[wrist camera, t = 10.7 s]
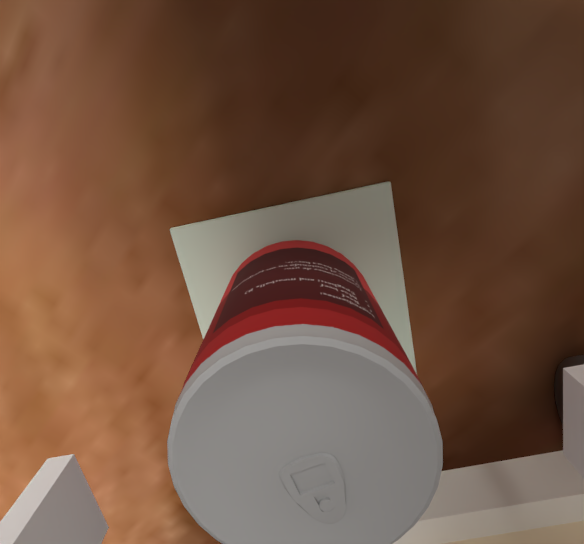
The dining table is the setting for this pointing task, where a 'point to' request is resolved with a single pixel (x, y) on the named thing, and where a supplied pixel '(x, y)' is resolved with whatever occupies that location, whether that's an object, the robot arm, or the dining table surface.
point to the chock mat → (306, 227)
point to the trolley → (508, 499)
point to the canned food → (303, 411)
